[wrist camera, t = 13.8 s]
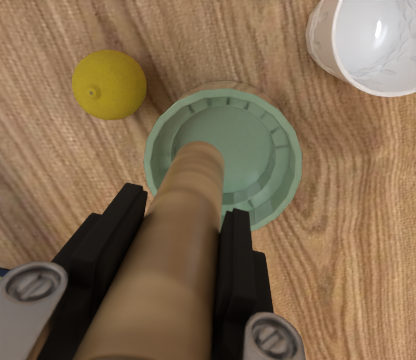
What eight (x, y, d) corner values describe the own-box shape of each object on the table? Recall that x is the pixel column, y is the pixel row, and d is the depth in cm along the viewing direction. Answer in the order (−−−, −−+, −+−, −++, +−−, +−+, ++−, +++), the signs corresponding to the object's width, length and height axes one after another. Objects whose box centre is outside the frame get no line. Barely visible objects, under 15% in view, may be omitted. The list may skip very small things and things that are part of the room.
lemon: (87, 69, 29) (37, 77, 21) (133, 36, 27) (96, 33, 20) (121, 119, 30) (86, 143, 23) (167, 91, 29) (144, 107, 22)
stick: (170, 181, 17) (60, 427, 6) (179, 135, 16) (61, 340, 5) (218, 192, 17) (190, 455, 6) (230, 147, 16) (223, 376, 5)
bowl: (151, 188, 33) (135, 217, 28) (171, 64, 28) (156, 70, 22) (266, 216, 34) (272, 250, 28) (309, 99, 28) (327, 112, 23)
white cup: (279, 28, 26) (303, 20, 17) (360, -50, 23) (442, -110, 14) (332, 97, 28) (379, 123, 19) (413, 32, 25) (514, 26, 16)
